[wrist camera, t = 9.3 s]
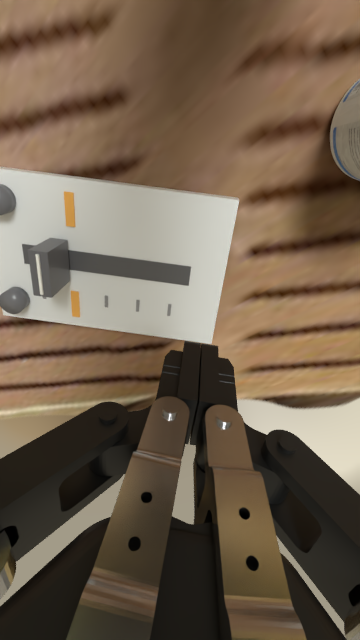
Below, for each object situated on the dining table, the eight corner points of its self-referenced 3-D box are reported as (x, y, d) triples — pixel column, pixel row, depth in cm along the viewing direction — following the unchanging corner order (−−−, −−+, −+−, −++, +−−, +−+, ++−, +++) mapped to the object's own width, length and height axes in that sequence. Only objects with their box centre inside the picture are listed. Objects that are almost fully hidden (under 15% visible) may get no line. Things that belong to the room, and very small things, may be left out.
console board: (-14, 164, 34) (-38, 166, 31) (237, 197, 34) (240, 202, 30) (11, 308, 43) (-5, 321, 39) (211, 336, 42) (211, 351, 39)
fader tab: (50, 237, 35) (26, 250, 30) (67, 239, 35) (46, 253, 30) (54, 278, 37) (32, 296, 33) (70, 280, 37) (51, 298, 33)
